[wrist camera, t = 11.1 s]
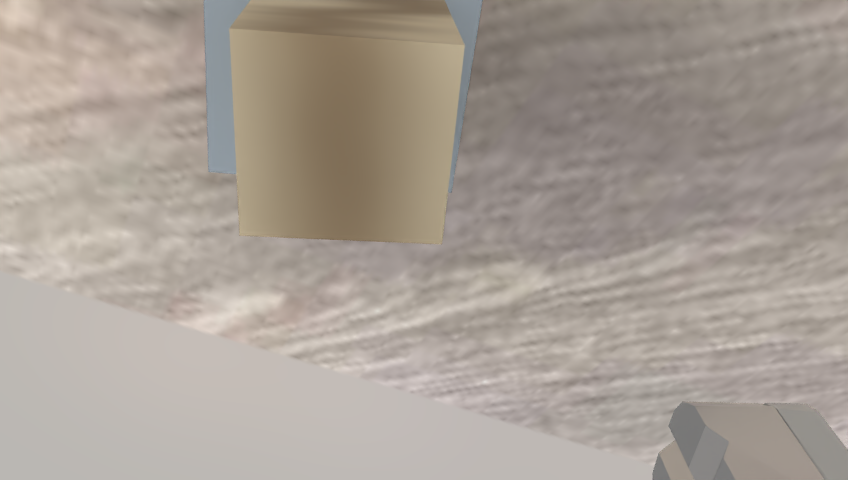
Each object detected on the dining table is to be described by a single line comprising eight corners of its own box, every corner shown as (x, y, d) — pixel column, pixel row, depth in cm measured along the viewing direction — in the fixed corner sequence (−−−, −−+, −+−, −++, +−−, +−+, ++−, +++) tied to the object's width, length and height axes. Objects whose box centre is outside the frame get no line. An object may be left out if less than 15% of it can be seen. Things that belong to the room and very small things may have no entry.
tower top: (470, -80, 24) (492, -62, 20) (439, 137, 28) (451, 192, 24) (233, -112, 23) (200, -100, 19) (234, 118, 27) (208, 171, 23)
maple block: (440, -8, 20) (465, 44, 15) (426, 151, 23) (441, 243, 18) (266, -22, 20) (229, 28, 15) (270, 142, 22) (239, 235, 17)
